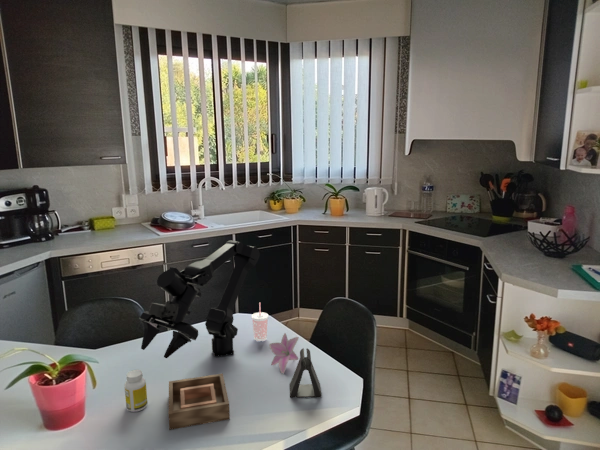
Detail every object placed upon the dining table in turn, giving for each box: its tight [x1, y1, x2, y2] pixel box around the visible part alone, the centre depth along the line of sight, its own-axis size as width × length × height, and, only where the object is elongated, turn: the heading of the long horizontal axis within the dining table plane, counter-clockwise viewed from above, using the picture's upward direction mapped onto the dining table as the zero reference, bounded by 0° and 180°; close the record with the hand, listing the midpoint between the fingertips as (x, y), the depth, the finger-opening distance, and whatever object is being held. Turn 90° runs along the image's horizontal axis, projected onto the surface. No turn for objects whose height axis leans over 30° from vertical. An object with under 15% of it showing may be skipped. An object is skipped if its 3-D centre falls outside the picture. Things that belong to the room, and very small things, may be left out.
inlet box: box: [167, 373, 231, 431], centre depth 115 cm, size 15×15×4 cm
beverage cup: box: [251, 302, 269, 342], centre depth 154 cm, size 6×6×14 cm
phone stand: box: [289, 347, 322, 399], centre depth 122 cm, size 9×6×12 cm, turn 91°
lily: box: [268, 332, 299, 375], centre depth 137 cm, size 12×12×10 cm
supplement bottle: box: [124, 369, 148, 413], centre depth 115 cm, size 5×5×10 cm
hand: (153, 353), depth 119 cm, fingers open, 9 cm apart
